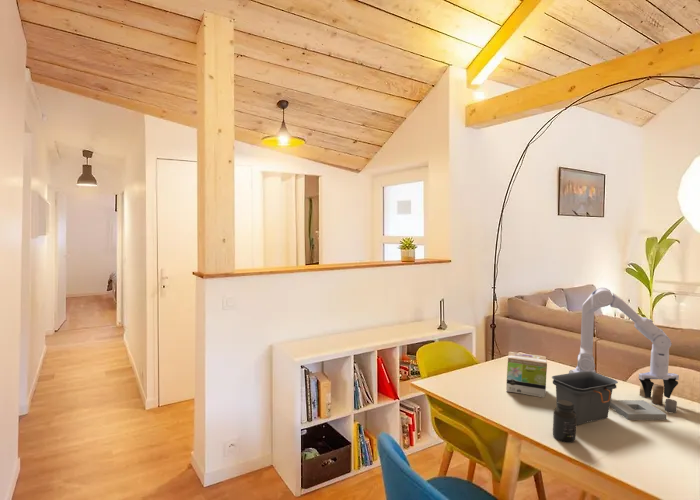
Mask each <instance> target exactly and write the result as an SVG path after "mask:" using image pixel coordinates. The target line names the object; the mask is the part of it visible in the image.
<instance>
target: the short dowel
mask: <svg viewBox="0 0 700 500" xmlns="http://www.w3.org/2000/svg"><path fill="white" fill-rule="evenodd" d="M664 406H665V407H664V411H665V412H667V413H670V414H677V407H678V401H676V400H675V399H672V398H666V399H665V404H664Z"/></svg>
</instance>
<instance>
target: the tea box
mask: <svg viewBox="0 0 700 500" xmlns="http://www.w3.org/2000/svg"><path fill="white" fill-rule="evenodd" d="M507 356H508V357H507V366H506V367H507V368H506V392H510V393H516V394H522V395H528V396H533V397H539V398H545V397H546V390H547V389H546V388H547V369H548V361H547V357H546V355H545V356H544V355H539V354H530V353H523V352H522V353H521V352H516V351H508V355H507Z"/></svg>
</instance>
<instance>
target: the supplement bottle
mask: <svg viewBox="0 0 700 500" xmlns="http://www.w3.org/2000/svg"><path fill="white" fill-rule="evenodd" d="M557 407H558V408H557ZM573 410H574V404H573V403H572V402H570V401H568V400H558V402H557V401H556V407H555V409H553V417H552V418H553V420H552V436H553V437H554V439H556V440H558V441H560V442H561V443H562V442H563V443H573V442H575V441H576V439H577V437H576V436H577V425H576V422H577V415H576V413H575V412H574V411H573Z"/></svg>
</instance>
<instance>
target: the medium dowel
mask: <svg viewBox="0 0 700 500" xmlns="http://www.w3.org/2000/svg"><path fill="white" fill-rule="evenodd" d="M639 396H640V397H642V398H648V397H646V396H645V393H644V389H643V386H642V384H641V382H640V381H639ZM648 399H649V398H648Z"/></svg>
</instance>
